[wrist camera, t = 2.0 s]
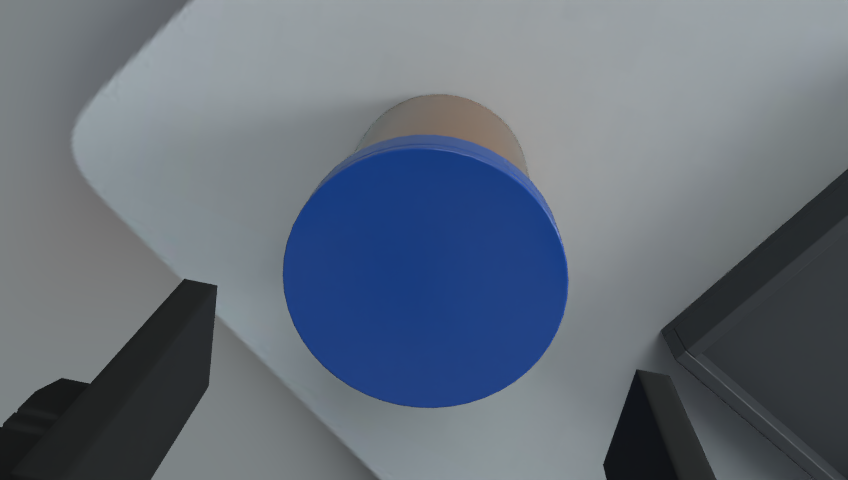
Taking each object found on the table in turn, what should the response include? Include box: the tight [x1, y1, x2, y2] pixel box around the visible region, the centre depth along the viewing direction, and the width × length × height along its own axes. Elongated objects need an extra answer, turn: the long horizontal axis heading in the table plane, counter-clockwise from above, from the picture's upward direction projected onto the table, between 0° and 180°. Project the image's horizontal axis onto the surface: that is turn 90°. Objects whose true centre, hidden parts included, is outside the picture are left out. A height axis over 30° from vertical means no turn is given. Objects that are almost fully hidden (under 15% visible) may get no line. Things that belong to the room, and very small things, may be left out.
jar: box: [354, 95, 530, 179], centre depth 27 cm, size 8×8×10 cm
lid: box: [283, 135, 568, 408], centre depth 22 cm, size 9×8×2 cm
